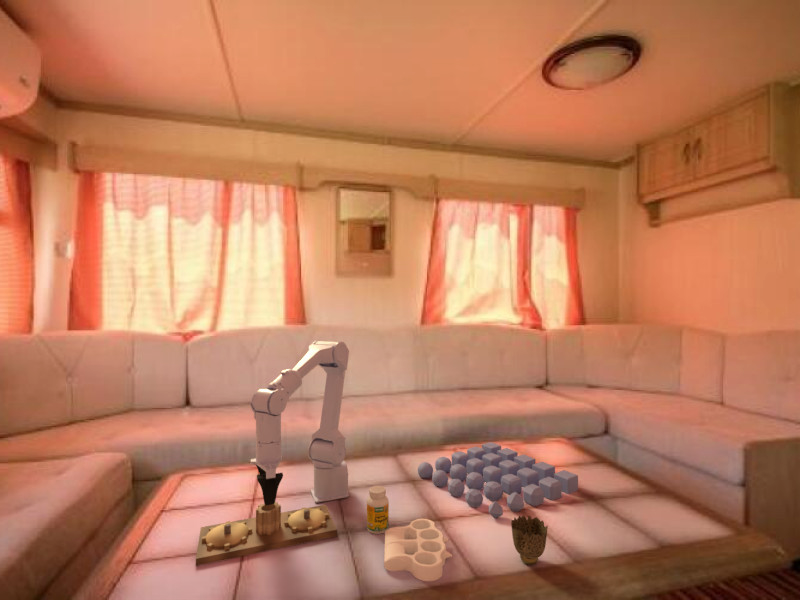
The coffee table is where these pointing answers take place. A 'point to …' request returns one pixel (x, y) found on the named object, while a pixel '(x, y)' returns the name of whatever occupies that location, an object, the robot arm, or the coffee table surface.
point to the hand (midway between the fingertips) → (268, 496)
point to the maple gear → (268, 518)
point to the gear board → (263, 535)
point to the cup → (529, 538)
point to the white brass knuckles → (416, 549)
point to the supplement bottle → (377, 510)
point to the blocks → (499, 477)
